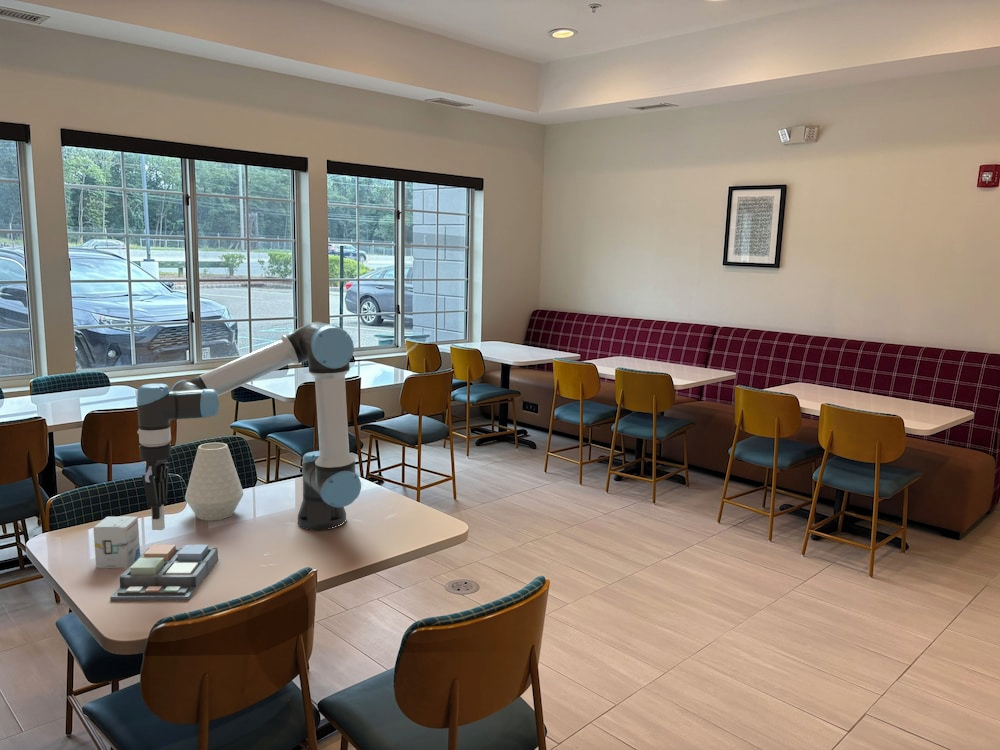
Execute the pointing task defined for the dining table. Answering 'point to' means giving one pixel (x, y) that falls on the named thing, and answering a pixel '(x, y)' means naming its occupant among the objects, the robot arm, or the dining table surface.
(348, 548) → the dining table surface
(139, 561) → the key sage
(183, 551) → the key slate
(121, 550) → the ink box
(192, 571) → the key cream
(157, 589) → the keypad
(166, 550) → the key terracotta
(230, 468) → the vase
